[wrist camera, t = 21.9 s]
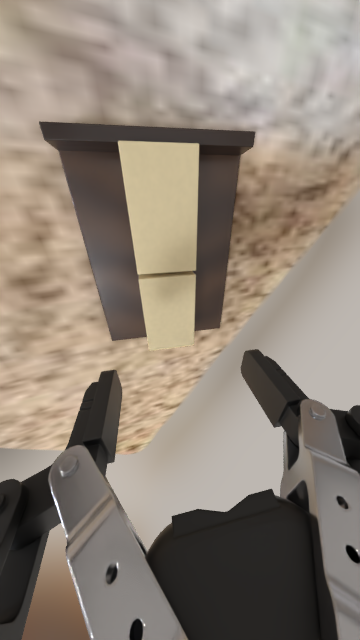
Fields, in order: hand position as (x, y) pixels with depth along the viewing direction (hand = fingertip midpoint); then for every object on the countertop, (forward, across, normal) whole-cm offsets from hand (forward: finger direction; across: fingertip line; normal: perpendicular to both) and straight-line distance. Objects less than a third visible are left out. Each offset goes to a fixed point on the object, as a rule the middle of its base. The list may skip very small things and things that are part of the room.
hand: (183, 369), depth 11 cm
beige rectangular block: (+11, 0, -8) cm, 13 cm away
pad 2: (+10, 0, 0) cm, 11 cm away
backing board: (+12, 0, -4) cm, 12 cm away
